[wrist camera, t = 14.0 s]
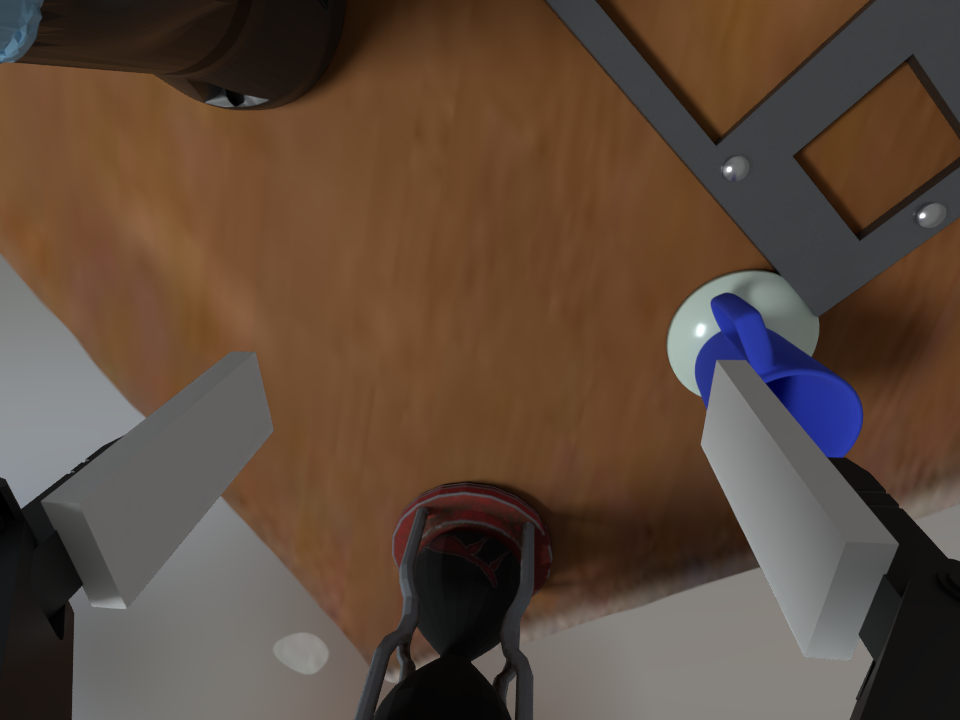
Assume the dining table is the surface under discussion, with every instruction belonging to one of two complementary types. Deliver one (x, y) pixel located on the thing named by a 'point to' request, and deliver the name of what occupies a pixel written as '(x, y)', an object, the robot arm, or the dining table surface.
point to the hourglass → (461, 604)
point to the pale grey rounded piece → (757, 289)
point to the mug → (782, 375)
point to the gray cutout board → (804, 140)
